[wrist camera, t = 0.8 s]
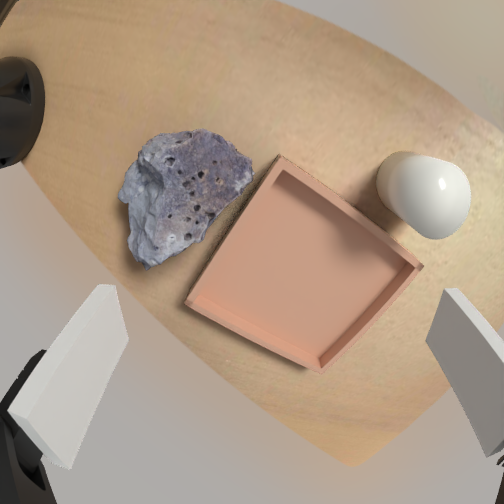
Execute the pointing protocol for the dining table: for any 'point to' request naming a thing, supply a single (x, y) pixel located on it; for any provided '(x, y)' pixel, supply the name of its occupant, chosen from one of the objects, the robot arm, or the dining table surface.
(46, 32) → the dining table surface
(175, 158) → the rock
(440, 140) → the dining table surface
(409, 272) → the dish
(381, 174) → the white rounded cylinder
